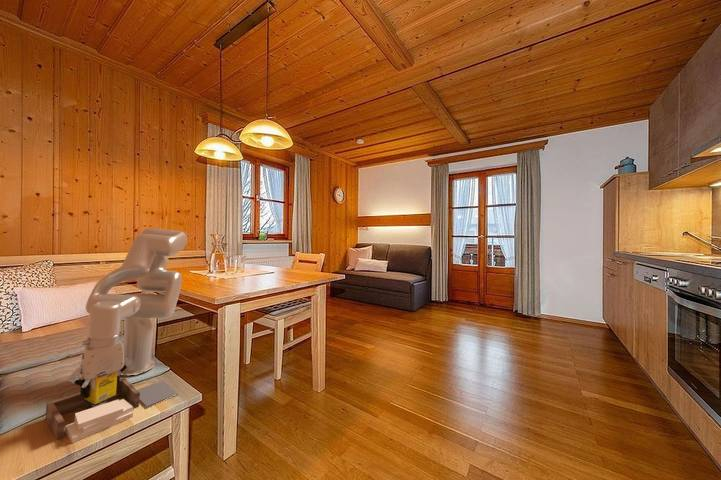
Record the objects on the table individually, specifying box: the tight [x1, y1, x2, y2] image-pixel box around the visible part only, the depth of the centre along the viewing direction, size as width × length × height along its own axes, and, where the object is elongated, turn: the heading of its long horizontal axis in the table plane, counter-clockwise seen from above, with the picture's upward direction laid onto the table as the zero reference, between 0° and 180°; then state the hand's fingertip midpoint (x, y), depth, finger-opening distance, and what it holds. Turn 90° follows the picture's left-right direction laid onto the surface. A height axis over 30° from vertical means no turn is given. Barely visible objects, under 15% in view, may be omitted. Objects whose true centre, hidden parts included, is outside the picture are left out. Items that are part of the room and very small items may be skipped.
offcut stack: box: [64, 398, 134, 444], centre depth 86 cm, size 8×14×4 cm, turn 149°
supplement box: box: [84, 371, 118, 407], centre depth 92 cm, size 6×6×11 cm
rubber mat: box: [136, 379, 179, 409], centre depth 102 cm, size 12×10×1 cm
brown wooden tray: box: [45, 377, 140, 441], centre depth 90 cm, size 13×19×5 cm, turn 149°
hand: (100, 390), depth 92 cm, fingers closed on supplement box, 6 cm apart
